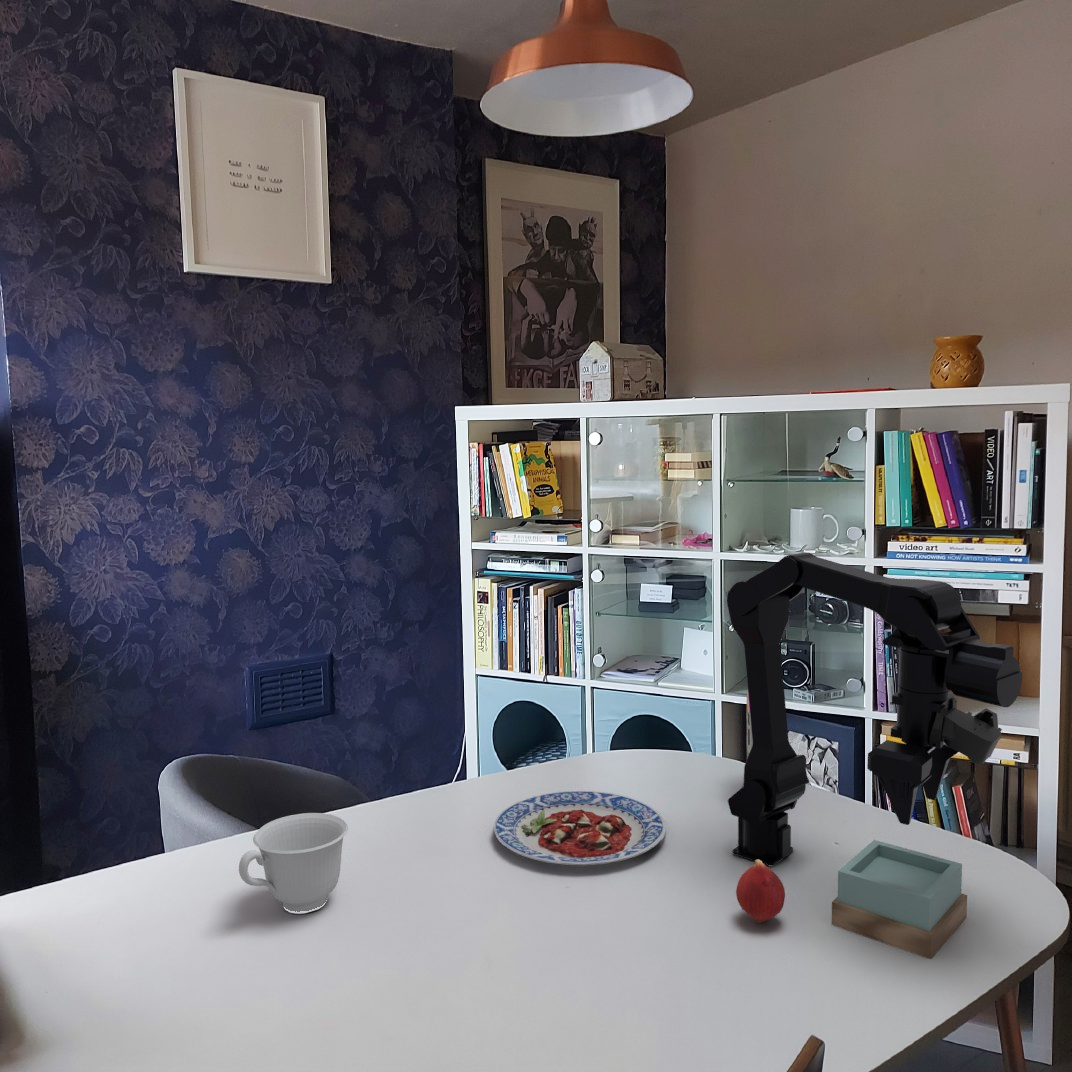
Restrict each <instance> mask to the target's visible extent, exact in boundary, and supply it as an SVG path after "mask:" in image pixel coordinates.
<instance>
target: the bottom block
mask: <svg viewBox="0 0 1072 1072" xmlns="http://www.w3.org/2000/svg"><path fill="white" fill-rule="evenodd" d="M967 911H968V894H965V893H963V892H961V896H960V897H959V898H958V899H957V900H956V901H955V903H954V904H953V905H952V906H951V907H950V908H949V910H948V911H947V912H946V913H945V914H944V915H943V917H942V918H941V919H940V920H939V921H938V922H937V924H936V925H935V926H934V927H933V928H932V929H931V931H930V932H929V931H925V930H922V929H919V928H916V927H913V926H910V925H907V924H904V923H901V922H898V921H895V920H892V919H889V918H886V917H882V916H879V915H876V914H873V913H870V912H867V911H864V910H861V909H858V908H855V907H852V906H849V905H846V904H843V903H840V902H838V896H837V897H835V898H834V899H833V900H832V901H831V926H835V927H838V928H841V929H843V930H847V931H849V932H852V933H854V934H858V935H861V936H864V937H866V938H869V939H872V940H874V941H877V942H880V943H883V944H886V945H889V946H892V947H895V948H897V949H900V950H904V951H905V952H909V953H912V954H914V955H917V956H921V957H923V958H925V959H929V960H932V959H933V958H934V956H935V955H936V954H937V953H938V952H939V950H940V949H941V948H942V947H943V946H944V945H945V944H946V942H947V941H948V940H949V939H950V938H951V936H952V935H953V934H954V933H955V931H957V929H958V928H959V927H960V926H961V925H962V923H964V921H965V920H966V919H967Z"/></svg>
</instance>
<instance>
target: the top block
mask: <svg viewBox="0 0 1072 1072" xmlns="http://www.w3.org/2000/svg"><path fill="white" fill-rule="evenodd" d="M962 877H963V864H962V863H960V862H958V861H957V862H956V861H953V860H949V859H946V858H941V857H939V856H935V855H931V854H928V853H923V852H920V851H916V850H913V849H908V848H906V847H902V846H898V845H895V844H891V843H887V842H883V841H880V840H876V839H873V840H872V841H871V842H870V843H868V844H867V845H866V846H865V847H864V848H863V849H861V850H860V851H859V852H858V853H857V854H856V855H854V857H852V858H851V859H850V860H849V861H847V862H846V864H844V865H843V866H841V868H840V869H839V870H838V871H837V897H838V902H840V903H843V904H846V905H849V906H852V907H855V908H858V909H861V910H864V911H867V912H870V913H873V914H876V915H879V916H882V917H886V918H889V919H892V920H895V921H898V922H901V923H904V924H907V925H910V926H913V927H916V928H919V929H922V930H925V931H929V932H930V931H931V929H932V928H933V927H934V926H935V925H936V924H937V922H938V921H939V920H940V919H941V918H942V917H943V915H944V914H945V913H946V912H947V911H948V910H949V908H950V907H951V906H952V905H953V904H954V903H955V901H956V900H957V899H958V898H959V897H960V896H961V893H962V887H963V885H962V882H963V881H962V880H963V879H962Z"/></svg>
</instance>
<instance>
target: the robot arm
mask: <svg viewBox="0 0 1072 1072" xmlns="http://www.w3.org/2000/svg"><path fill="white" fill-rule="evenodd" d="M805 589H806V590H811V591H813V592H816V593H819V594H823V595H825V596H828V597H832V598H834V599H838V600H840V601H845V602H846V603H847V602H848V603H850V604H853V605H856V606H859V607H862V608H864V609H865V608H866V609H869V610H870V611H872V612H874V613H876V614H877V615H878V616H879V617H880V618H881V619H882V620H883V621H884V622H885V623H886V624H889V625H891V626H892V627H894V628H895V629H894V630H893V632H892V633H891V634H889V635H888V636H887V637H885V638H883V640H882V644H883V645H884V646H888V647H894V648H898V649H899V651H898V652H899V653H898V654H899V655H898V660H899V661H898V679H897V681H898V682H897V691H896V692H895V693H894V694H892V695H891V704H892V705H897V706H896V707H897V709H896V724H895V725H893V726H892V727H891V728H890V738H891V737H892V738H895V739H901V741H900V742H898V741H894V740H889V739H886V740H884V741H883V742H882V743H880V744H879V745H877V746H876V747H875V748H873V749H872V750H871V751H869V752H868V753H867V764H866V765H867V770H868V771H869V772H872V775H874V776H876V777H877V780H878V781H879V782H880V785H881V786H882V788H883V790H884V792H885V794H886V796H887V799H888V800H889V803H890V805H891V806H892V809H893V811H894V814H895V816H896V818H897V820H898V822H899V823H900V824H902V825H906V826H908V825H910V824H911V820H912V817H913V813H914V808H915V804H916V803H915V802H916V800H917V794H918V789H919V788H918V787H920V786H921V785H922V789H923V791H924V794H925V795H924V796H925V798H926V799H928V800H932V801H936V799H937V798H938V796H939V791H940V789H941V786H942V783H943V780H944V776H945V774H946V770H947V768H948V765H949V762H950V759H951V758H952V757H954V756H955V755H957V754H958V753H959V754H962V755H963V756H965V757H967V758H968V760H970V761H971V762H973V763H975V764H978V765H983V764H984V763H986V761H987V760H988V759H989V758H991V757H992V755H993V753H994V751H995V749H996V747H997V744H998V742H999V741H1000V739H1002V730H1003V729H1002V728H1000V727H999V723H998V722H999V719H998V714H997V713H996V712H994V711H993V710H990V709H989V708H986V707H985V708H983V709H982V710H981V711H979V712H977V713H976V714H974V715H973V713H972V712H970V711H968V712H967V713H966V712H964V711H963V710H960V709H958V708H957V705H958V700H957V698H955V696H956V697H961V698H965V699H967V700H972V701H976V702H980V703H986V704H990V705H994V706H997V707H1002V708H1009V707H1011V706H1012V705H1013V704H1014V703H1015V702H1016V700H1017V698H1018V696H1019V693H1020V690H1021V687H1022V682H1023V681H1022V680H1023V672H1022V671H1021V666H1020V664H1019V661H1018V659H1017V658H1016V657H1015V656H1014V646H1013V645H1009V644H1003V643H1001V644H998V643H997V644H994V643H989V642H983V641H980V639H981V636H980V634H979V633H978V631H977V630H976V628H975V626H974V625H973V623H972V621H971V620H970V618H969V617H968V615H967V614H966V612H965V610H964V609H963V607H962V601H961V599H960V596H959V594H958V593H957V592H956V589H955V587H954V586H953V585H951V584H950V583H947V582H946V581H945V582H944V581H940V580H930V579H920V578H919V579H918V578H896V577H895V578H894V577H887V576H884V575H879V574H877V573H874V572H870V571H867V570H863V569H859V568H856V567H852V566H849V565H845V564H842V563H839V562H837V561H836V562H835V561H832V560H829V559H825V558H822V557H818V556H816V555H814V554H812V553H811V552H800V553H794V554H793V553H792V554H789V555H784V556H783V557H782V558H781V559H779V560H778V561H777V562H776V563H774V564H773V565H772V566H770V567H768V568H766V569H764V570H763V571H761V572H760V573H758V574H755V575H753V576H752V577H750V578H749V579H747V580H742V581H738V582H736V583H734V584H733V585H732V587H731V588H730V590H728V591H727V595H726V605H727V608H728V613H729V614H728V615H729V618H730V619H729V620H730V623H731V626H732V628H733V630H734V631H735V632H736V634H737V635H738V637H739V639H740V640H741V642H742V643H743V644H742V645H743V647H744V651H743V652H744V659H745V670H746V681H747V682H746V684H747V692H748V696H749V707H750V718H751V730H752V741H753V742H752V748H751V750H750V753H749V755H748V758H747V757H746V760H745V764H744V767H743V768H744V769H743V784H742V787H741V788H740V789H738V791H736V792H735V793H734V794H732V795H731V796H730V797H729V798H728V800H727V803H728V807H729V811H730V814H731V815H732V816H734V817H737V832H738V833H737V838H738V839H737V846H736V847H734V848H733V849H732V851H731V852H732V854H733V855H735V856H738V857H741V858H744V859H748V860H751V861H753V862H755V860H757V859H759V860H761V861H762V863H763V864H764V865H765V866H770V867H774V866H775V865H777V864H778V863H780V862H781V861H782V860H783V859H785V858H786V857H787V856H789V855H790V854H792V853H793V852H794V847H793V846H792V842H791V841H792V832H791V831H792V826H791V825H790V824H789V813H788V812H786V811H789V810H793V809H795V807H796V804H797V802H798V800H800V798H802V797H803V795H805V792H806V787H807V786H806V785H807V784H809V783H810V780H809V777H808V775H807V774H808V773H807V757H806V755H805V754H797V752H796V750H795V749H794V748H793V747H792V745H791V744H790V741H789V733H788V729H789V728H788V719H787V709H786V707H787V706H786V697H785V685H784V684H785V683H784V674H783V673H784V672H783V662H782V650H781V639H782V638H783V637H782V636H783V634H784V633H785V630H786V627H787V624H788V622H789V610H790V601H792V600H793V599H795V598H796V597H798V596H799V595H800V594H802V592H803V591H804V590H805ZM947 628H948V629H949V630H950V631H947V632H946V631H945V632H942V633H941V632H940V631H941V630H944V629H947ZM950 691H951V692H952V694H951V693H950Z"/></svg>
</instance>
